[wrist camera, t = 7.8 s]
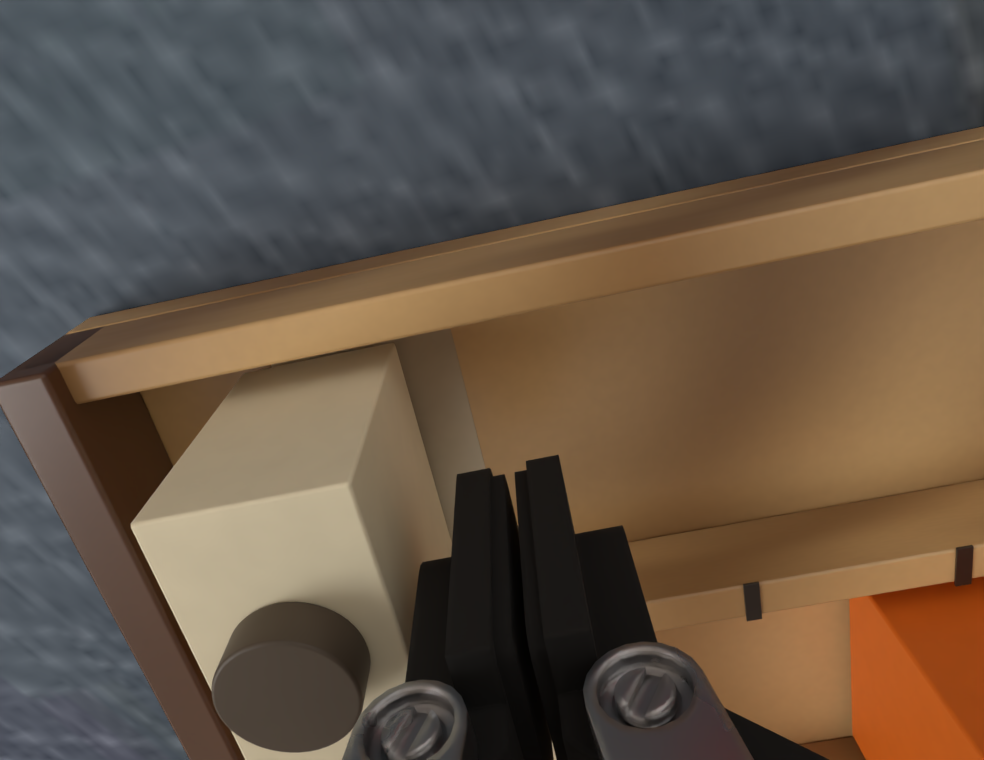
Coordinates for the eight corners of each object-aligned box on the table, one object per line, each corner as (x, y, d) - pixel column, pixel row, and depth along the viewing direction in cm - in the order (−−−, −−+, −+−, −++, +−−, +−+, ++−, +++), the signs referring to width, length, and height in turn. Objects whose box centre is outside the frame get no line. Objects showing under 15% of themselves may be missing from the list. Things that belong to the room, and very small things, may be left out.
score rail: (1341, 48, 13) (1603, 48, 10) (1199, 668, 19) (1336, 786, 16) (88, 316, 15) (-14, 385, 12) (312, 805, 21) (282, 935, 18)
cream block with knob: (394, 341, 14) (339, 519, 9) (457, 561, 16) (443, 814, 11) (242, 372, 14) (98, 563, 9) (324, 585, 16) (244, 845, 11)
